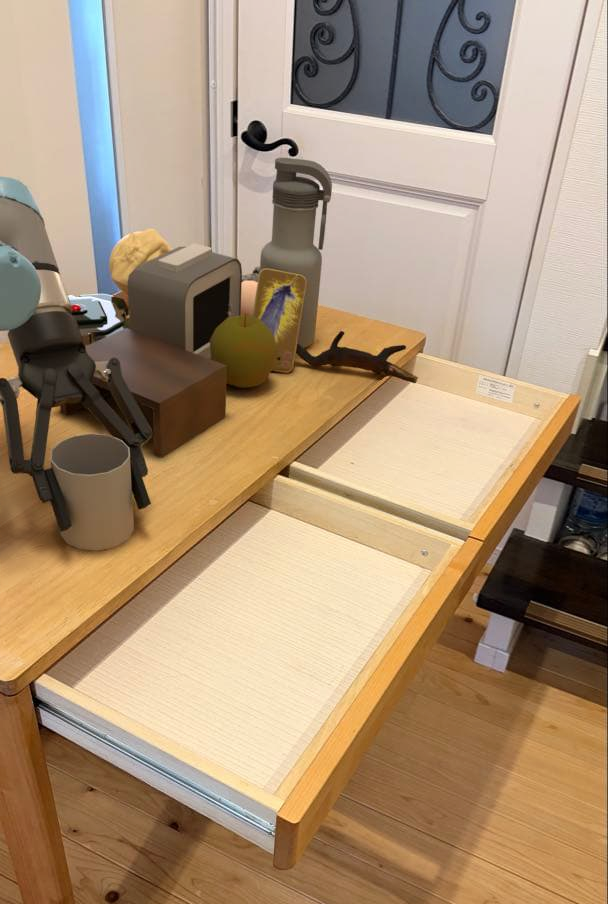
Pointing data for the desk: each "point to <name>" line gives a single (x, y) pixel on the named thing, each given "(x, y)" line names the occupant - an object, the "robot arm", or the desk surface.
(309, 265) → the water bottle
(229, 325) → the apple
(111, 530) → the cup
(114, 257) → the tan curved lump
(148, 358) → the shelf
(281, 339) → the smartphone
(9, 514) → the desk surface
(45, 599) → the desk surface
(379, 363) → the toy
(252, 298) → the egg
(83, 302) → the four-lobed dark green device
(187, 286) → the alarm clock
